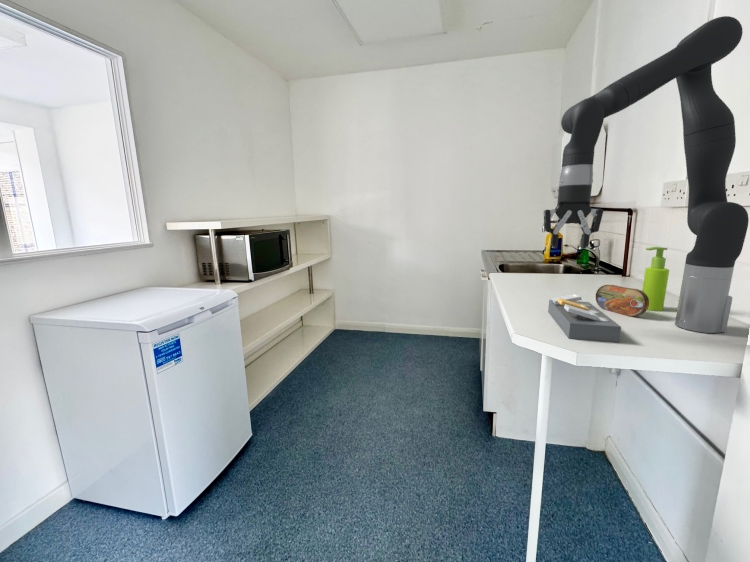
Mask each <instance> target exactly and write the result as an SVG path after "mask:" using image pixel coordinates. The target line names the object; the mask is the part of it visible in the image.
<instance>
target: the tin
mask: <svg viewBox="0 0 750 562" xmlns="http://www.w3.org/2000/svg"><path fill="white" fill-rule="evenodd" d="M595 301H596V304H597V306H598V307H599V308H600V309H602V310H604V311H608V312H612V313H616V314H621V315H623V316H627V317H636V316H641V315H642V314H644V313H646V312H647V311H648V310H647V309H648V306H649V299H648V297H647V295H646V294H645V293H644V292H643V291H642V289H641V290H640V289H638V288H634V287H633V288H632V287H626V286H621V285H615V284H603V285H601V286H600V287H598V289H597V290H596V293H595Z"/></svg>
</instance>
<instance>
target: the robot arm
mask: <svg viewBox="0 0 750 562" xmlns="http://www.w3.org/2000/svg"><path fill="white" fill-rule="evenodd" d="M742 37H743V26H742V24H741V22H740V21H739V20H738V19H737V18H735V17H733V16H728V15H726V16H725V15H724V16H723V15H722V16H719V17H716V18H712V19H710V20H708V21H707V22H705V23H703V24H701V26H699V27H697V28H696V29H695V30H693V31H692V32H690V33H688V34H687V35H686V36H685V37H684V38H682V39H681V40H680V41H679V42H678V43H677V45H676V46H675V47H674V48H672V49H671V50H668V51H667V52H666V53H664V54H662V55H660V56H658V57H657V58H655V59H653V60H651V61H649V62H648V63H646V64H645V65H642V66H640V67H639V68H636V69H635V70H633V71H631V72H630V73H628V74H625V75H624V76H623V77H621V78H619V79H617V80H616V81H615V80H614V81H613V82H612V83H610V84H608V85H607V86H605V87H604V88H603V89H601V90H600V91H599V92H597V93H595V94H594V95H592V96H590V97H588V98H584V99H583V100H580V101H579V102H577V103H575V104H574V105H572V106H570V107H569V108H568V109H567V110H566V111H565V112H564V114H563V115H562V117H561V120H560V126H561V129H562V130H563V131H564V132H565V133H566V134H568V135H569V134H570V139H569V142H567V144H566V145H565V146H564V149H563V152H562V160H561V170H560V175H559V180H558V183H559V184H558V192H557V203H556V206H555V208H554V209H553V208H551V209H545V210H544V211H543V228H544V229H543V230H544V231H545V232H547V233H550V235H551V237H550V238H551V239H550V246H551V247H553V249H558V247H559V237H560V235H559V232H560V231H561V229H562V228H563V227H564V225H565V224H577V225H578V226H579V227H580V230H581V232H582V234H581V239H580V249H585V250H586V249H587V247H588V246H589V244H590V236H591V234H593V233H598V232H599V231H600V225H601V222H602V219H603V214H604V209H603V208H592V207H591V197H592V187H593V183H594V161H595V160H594V159H595V147H596V145H597V142H598V139H599V137H600V134H601V132H602V131H601V130H602V127H603V124H604V120H605V119H606V118H608V117H609V116H612V115H615V114H617V113H619V112H621V111H623V110H625V109H627V108H629V107H630V106H632V105H634V104H635V103H637V102H639V101H640V100H642V99H644V98H645V97H647V96H649V95H651V94H652V93H654V92H655V91H657V90H658V89H660V88H661V87H663V86H665V85H666V84H668V83H670V82H671V81H673V80H674V79H675V80H676V84H677V88H678V94H679V101H680V109H681V118H682V130H683V131H682V137H683V148H684V155H685V166H686V176H687V183H688V202H687V217H686V219H687V221H686V222H687V226H688V229H689V230H690V232H691V233H692V234H694V236H695V235H696V238H695V242H694V246H693V248H692V249H691V251H689V252H688V253H687V254H686V257H685V263H684V268H683V275H682V280H681V285H680V293H679V298H678V304H677V310H676V316H675V321H674V325H675V326H676V327H678V328H681V329H684V330H688V331H691V332H696V333H704V334H705V333H706V334H718V333H726V332H727V328H728V322H729V317H730V313H731V308H732V304H733V303H732V302H733V296H731V295H729V293H730V289H731V284H732V281H733V280H732V279H733V274H734V270H735V269H734V268H735V265H736V261H737V259H738V258H739V257H740V255H741V253H742V251H743V247H744V243H745V240H746V236H747V231H748V228H749V227H748V226H749V219H750V218H749V212H748V211H747V209H746V208H745V207H744V206H743V205H742V204H739V203H737V202H732V201H728V196H727V190H726V189H727V187H726V183H727V182H726V181H727V175H728V171H729V168H730V165H731V162H732V159H733V156H734V153H735V149H736V140H737V139H736V138H737V135H736V124H735V117H734V114H733V112H732V110H731V109H730V108H729V106H728V105H727V104H726V103H725V101H723V99H721V98H720V96H719V95H718V94H717V93H716V90H715V88H714V85H713V79H712V65H713V64H716V63H717V62H719V61H721V60H723V59H725V58H726V57H728V55H730V54H731V53H732V52H733V51H735V49H736V48H737V47H738V45H739V43H740V42H741V39H742ZM554 214H555V215H556V216H557V217H558V219H557V221H556V223H554V226H553V228H552V220H551V219H552V218H553V216H554ZM590 214H591V217H592V222H591V227H589V223H588V221H587V217H588V216H589V215H590Z"/></svg>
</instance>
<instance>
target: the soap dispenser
mask: <svg viewBox="0 0 750 562" xmlns="http://www.w3.org/2000/svg"><path fill="white" fill-rule="evenodd" d="M645 250H646V251H655V250H656V253H655V256H654V257H652V258H651V261H650V262H651V264H650V266H649V267H645V269H644V270H645V271H644V277H643V283H642V289H641V291H643V292H644V293H645V294H646V295H647V297H648V299H649V306H648V309H647V310H646V311H650V312H651V311H652V312H654V311H655V312H663V310H664V305H665V300H666V294H667V293H666V292H667V287H668V280H669V274H670V269H668V268H666V267H665V266H666V260H667V258H666V257H664V251H667V250H668V247H660V246H650V247H646V248H645Z"/></svg>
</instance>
